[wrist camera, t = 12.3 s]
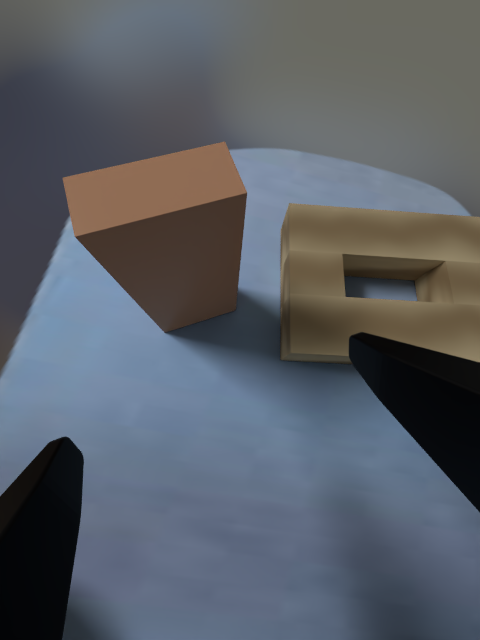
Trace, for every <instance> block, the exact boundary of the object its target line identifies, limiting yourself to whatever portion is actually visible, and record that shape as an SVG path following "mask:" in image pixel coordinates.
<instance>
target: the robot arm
mask: <svg viewBox="0 0 480 640" xmlns="http://www.w3.org/2000/svg"><path fill="white" fill-rule="evenodd" d="M349 358H350V361H351V362H352V364H353V365H354V366H355V368H356V369H357V371H358V372H359V373H360V375H361V376H362V377H363V379H364V380H365V382H366V383H367V384H368V386H369V387H370V388H371V390H372V391H373V393H374V394H375V395H376V396H377V398H378V399H379V400H380V401H381V402H382V404H383V405H384V406H385V407H386V408H387V409H388V410H389V411H390V413H391V414H392V415H393V416H394V417H395V418H396V419H397V420H398V422H399V423H400V424H401V425H402V426H403V427H404V428H405V429H406V430H407V432H408V433H409V434H410V435H411V436H412V437H413V438H414V439H415V440H416V442H417V443H418V444H419V445H420V446H421V447H422V448H423V449H424V451H425V452H426V453H427V454H428V455H429V456H430V457H431V458H432V459H433V461H434V462H435V463H436V464H437V465H438V466H439V467H440V468H441V470H442V471H443V472H444V473H445V474H446V475H447V476H448V477H449V478H450V480H451V481H452V482H453V483H454V484H455V485H456V486H457V487H458V488H459V490H460V491H461V492H462V493H463V494H464V495H465V496H466V497H467V499H468V500H469V501H470V502H471V503H472V504H473V505H474V506H475V507H476V509H477V510H478V511H479V512H480V362H476V361H473V360H469V359H465V358H461V357H457V356H453V355H450V354H446V353H442V352H438V351H434V350H430V349H427V348H423V347H419V346H415V345H411V344H407V343H403V342H400V341H396V340H392V339H388V338H384V337H380V336H377V335H373V334H369V333H365V332H359V333H356V334H353V335H351V336H350V337H349ZM83 465H84V459H83V455H82V453H81V451H80V450H79V449H78V448H77V446H76V445H75V444H74V443H73V442H72V441H71V439H70V438H68V437H61V438H59V439H56V440H53V441H51V442H49V443H48V444H47V445H46V446H45V447H44V449H43V450H42V451H41V452H40V453H39V454H38V455H37V456H36V457H35V459H34V460H33V461H32V462H31V463H30V464H29V465H28V466H27V467H26V469H25V470H24V471H23V472H22V473H21V474H20V475H19V476H18V477H17V479H16V480H15V481H14V482H13V483H12V484H11V485H10V486H9V487H8V488H7V490H6V491H5V492H4V493H3V494H2V495H1V496H0V640H62V637H63V630H64V624H65V617H66V611H67V604H68V598H69V591H70V585H71V578H72V572H73V565H74V559H75V552H76V546H77V539H78V533H79V526H80V518H81V506H82V486H83Z"/></svg>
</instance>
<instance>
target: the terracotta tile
mask: <svg viewBox="0 0 480 640" xmlns="http://www.w3.org/2000/svg"><path fill="white" fill-rule="evenodd" d="M63 182H64V187H65V192H66V197H67V201H68V206H69V211H70V216H71V221H72V226H73V230H74V235H75V237H76V238H77V239H78V241H79V242H80V243H81V244H82V245H83V246H84V247H85V248H86V249H87V250H88V251H89V252H90V253H91V254H92V256H93V257H94V258H95V259H96V260H97V261H98V262H99V263H100V264H101V265H102V266H103V267H104V268H105V269H106V270H107V272H108V273H109V274H110V275H111V276H112V277H113V278H114V279H115V280H116V281H117V282H118V283H119V284H120V285H121V287H122V288H123V289H124V290H125V291H126V292H127V293H128V294H129V295H130V296H131V297H132V298H133V299H134V300H135V301H136V303H137V304H138V305H139V306H140V307H141V308H142V309H143V310H144V311H145V312H146V313H147V314H148V315H149V316H150V318H151V319H152V320H153V321H154V322H155V323H156V324H157V325H158V326H159V327H160V328H161V329H162V330H163V331H164V332H165V333H166V332H169V331H172V330H175V329H178V328H181V327H185V326H188V325H191V324H194V323H197V322H200V321H203V320H207V319H210V318H213V317H216V316H219V315H222V314H225V313H229V312H232V311H235V310H236V302H237V291H238V281H239V271H240V260H241V250H242V240H243V229H244V219H245V209H246V198H247V192H246V189H245V187H244V185H243V182H242V180H241V178H240V175H239V173H238V171H237V168H236V166H235V164H234V162H233V159H232V157H231V155H230V152H229V150H228V148H227V145H226V143H225V142H221V143H217V144H212V145H209V146H203V147H199V148H194V149H190V150H185V151H181V152H176V153H172V154H168V155H163V156H159V157H154V158H149V159H145V160H140V161H136V162H131V163H127V164H123V165H118V166H114V167H109V168H105V169H100V170H96V171H91V172H87V173H82V174H78V175H73V176H69V177H64V178H63Z"/></svg>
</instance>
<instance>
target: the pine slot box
mask: <svg viewBox="0 0 480 640" xmlns="http://www.w3.org/2000/svg"><path fill="white" fill-rule="evenodd" d="M344 276H352V277H368V278H383V279H399V280H414V281H415V288H416V294H417V300H418V301H403V300H387V299H371V298H355V297H346V296H345V283H344ZM359 332H365V333H369V334H373V335H377V336H380V337H384V338H388V339H392V340H396V341H400V342H403V343H407V344H411V345H415V346H419V347H423V348H427V349H430V350H434V351H438V352H442V353H446V354H450V355H453V356H457V357H461V358H465V359H469V360H473V361H476V362H480V217H470V216H456V215H443V214H429V213H415V212H402V211H388V210H374V209H360V208H347V207H333V206H319V205H306V204H292V203H289V206H288V209H287V212H286V215H285V218H284V222H283V225H282V228H281V326H280V360H284V361H303V362H321V363H340V364H352V362H351V361H350V358H349V337H350V336H351V335H353V334H356V333H359Z"/></svg>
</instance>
